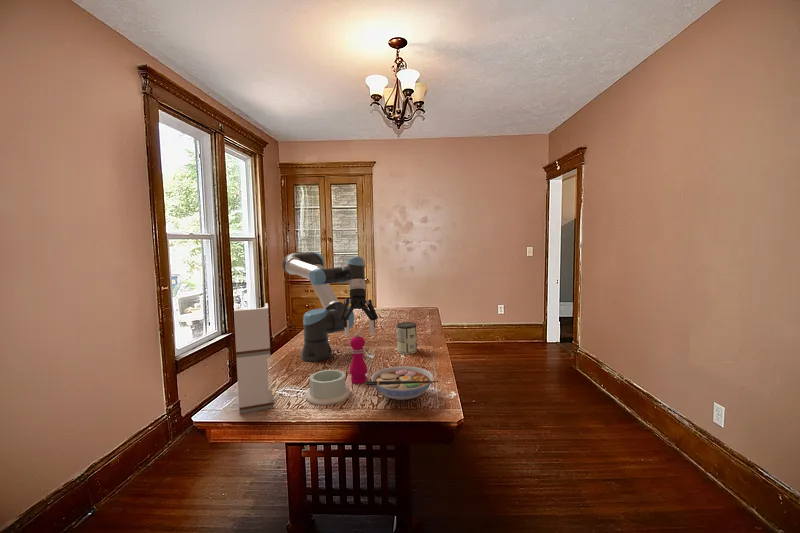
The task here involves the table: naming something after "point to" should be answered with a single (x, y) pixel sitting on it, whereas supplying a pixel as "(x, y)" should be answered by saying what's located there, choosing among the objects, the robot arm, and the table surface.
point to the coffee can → (406, 337)
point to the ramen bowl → (401, 382)
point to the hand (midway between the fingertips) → (359, 334)
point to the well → (327, 388)
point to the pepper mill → (358, 360)
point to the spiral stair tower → (252, 358)
